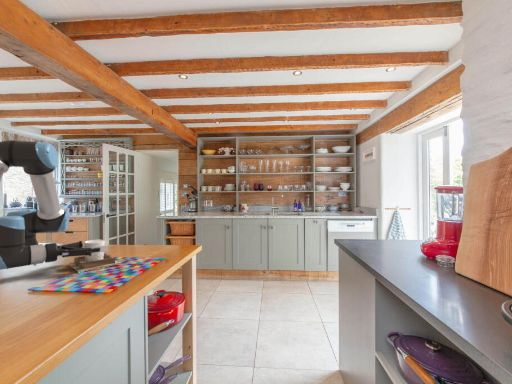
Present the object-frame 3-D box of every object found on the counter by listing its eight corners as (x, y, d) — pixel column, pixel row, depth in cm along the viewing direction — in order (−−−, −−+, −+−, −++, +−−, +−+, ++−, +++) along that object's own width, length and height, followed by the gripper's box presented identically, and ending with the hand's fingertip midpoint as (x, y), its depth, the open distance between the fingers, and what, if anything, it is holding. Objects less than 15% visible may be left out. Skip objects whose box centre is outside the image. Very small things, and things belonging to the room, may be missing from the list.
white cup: (80, 263, 116) (80, 241, 116) (98, 259, 123) (98, 238, 122) (90, 266, 112) (90, 243, 112) (108, 262, 119) (108, 240, 119)
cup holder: (69, 265, 117) (69, 257, 117) (108, 258, 129) (108, 251, 129) (78, 273, 106) (78, 264, 106) (119, 265, 118) (119, 257, 118)
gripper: (39, 257, 113) (94, 249, 128) (49, 269, 96) (112, 258, 111) (39, 239, 113) (94, 234, 128) (49, 249, 96) (112, 241, 111)
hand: (102, 245), depth 120 cm, fingers open, 13 cm apart
